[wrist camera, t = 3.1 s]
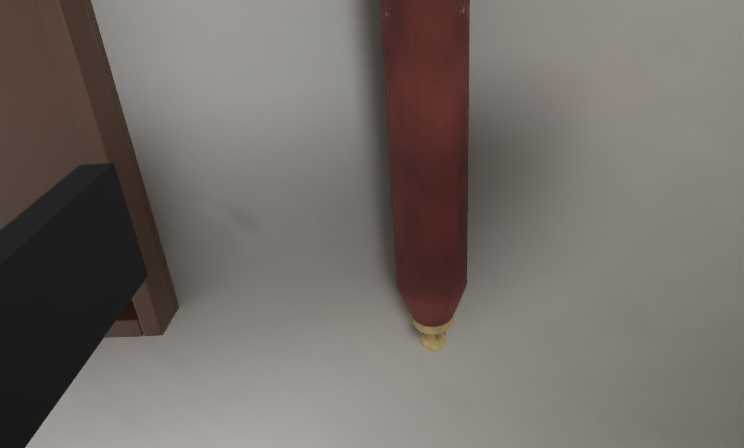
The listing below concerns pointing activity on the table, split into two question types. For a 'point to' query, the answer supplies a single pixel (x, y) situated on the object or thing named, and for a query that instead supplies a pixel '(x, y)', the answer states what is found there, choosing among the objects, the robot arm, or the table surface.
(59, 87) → the tray
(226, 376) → the table surface
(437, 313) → the gavel
